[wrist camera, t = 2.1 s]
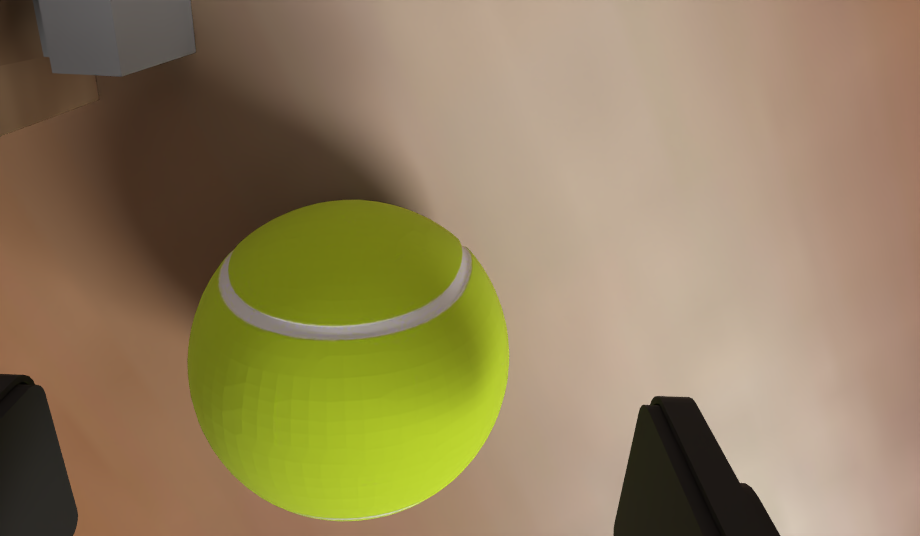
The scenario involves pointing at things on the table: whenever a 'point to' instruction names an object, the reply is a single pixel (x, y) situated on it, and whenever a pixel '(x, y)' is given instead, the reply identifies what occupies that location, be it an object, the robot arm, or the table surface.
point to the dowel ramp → (33, 73)
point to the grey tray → (113, 34)
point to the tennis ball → (348, 360)
